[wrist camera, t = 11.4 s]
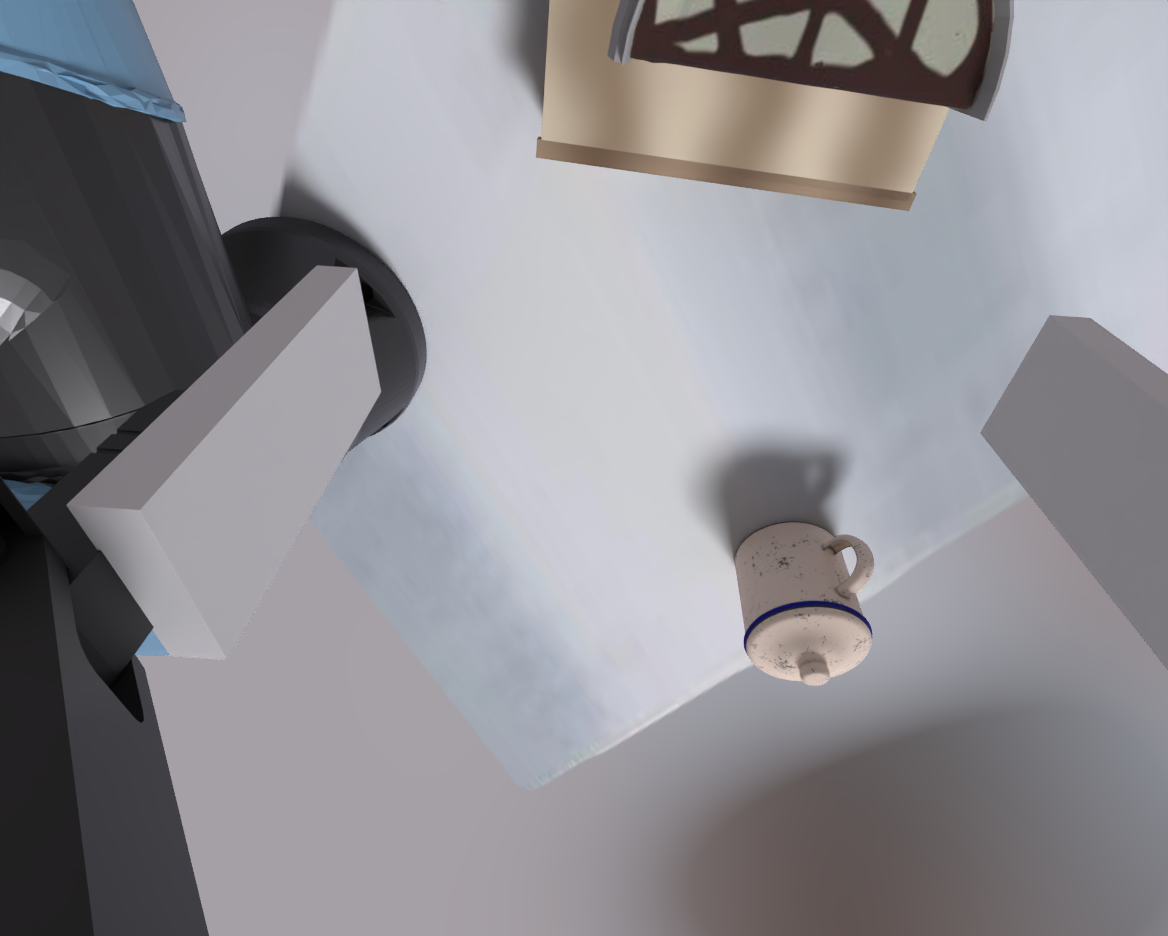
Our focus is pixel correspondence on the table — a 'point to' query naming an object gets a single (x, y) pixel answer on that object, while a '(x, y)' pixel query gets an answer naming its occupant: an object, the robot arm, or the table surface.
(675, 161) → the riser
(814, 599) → the teacup with lid
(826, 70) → the food container
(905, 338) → the table surface
